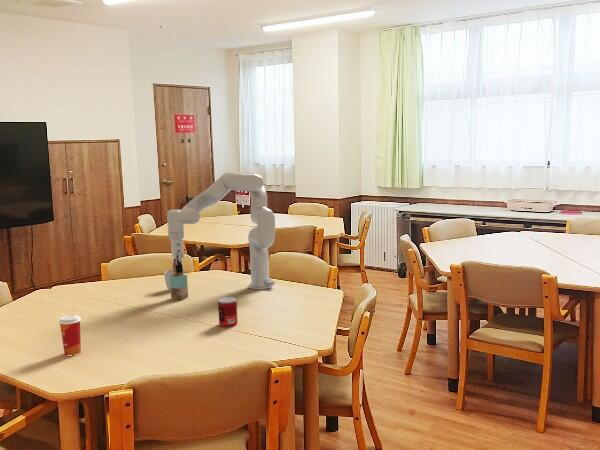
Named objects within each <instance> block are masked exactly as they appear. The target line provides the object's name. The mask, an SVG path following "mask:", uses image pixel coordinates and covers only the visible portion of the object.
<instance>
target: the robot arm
mask: <svg viewBox="0 0 600 450" xmlns="http://www.w3.org/2000/svg"><path fill="white" fill-rule="evenodd" d="M264 181H265V180H264V179H263V177H262V176H261V175H260V174H257V173H250V172H246V173H235V172H225V173H223V174H222V175H220V177H219V178H218V179H216V180H215V181H214V182H213V183H212V184H211V185H209V187H208V188H206V189H205V190H204V191H202V192H200V193H199V194H198V195H196V196H195V197H194V198H192V199H191V200H190V201H189V202H188V203H187V204H185V205H184V206H183V207H182V208H181V209H170V210H167V212H166V216H167V217H166V219H167V235H168V239H169V240H170V249H171V251H170V252H171V257H172V258H173V260H172V261H173V262H172V264H173V263H174V262H176V273H182V272H183V273H184V266H183V267H182V262H183V259H185V247H184V246H185V245H184V240H183V239H184V238H185V230H184V229H185V228H184V227H185V226H184V225H195V224H197V223H198V222H200V219H201V214H200V213H201V211H203V210H205V209H206V208H208V207H210V206H214V205H216V204H218V203H219V202H220V201H221V200H222V199H224V197H225V196H226V195H228V194H229V193H230V192H231V191H235V192H248V194H249V196H250V221H251V223H253V224H255V225H257V226H255V227H253V228H251V230H249V232H248V236H247V237H248V238H247V239H248V246H249V256H250V257H249V258H250V260H249V261H250V279H251V280H250V283H249V284H248V285H247V286H248V288H249V289H252V290H267V289H271V288H273V286H275V284H276V281H274V280H272V278H271V277H270V263H269V262H270V259H269V258H270V257H269V255H270V254H269V248H271V247H272V246H273V244H274V243H275V236H276V217H275V214H274V212H273V210H271V209H270V208H268V193H267V190H266V188H265V185H264Z"/></svg>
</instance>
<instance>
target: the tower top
mask: <svg viewBox="0 0 600 450" xmlns="http://www.w3.org/2000/svg"><path fill="white" fill-rule="evenodd" d="M183 274H184V275H182V276H173V275H170V287H172V288H175V289H180V288H184V287H188V274H186V273H183ZM188 288H189V287H188Z"/></svg>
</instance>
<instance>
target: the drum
mask: <svg viewBox="0 0 600 450" xmlns="http://www.w3.org/2000/svg"><path fill="white" fill-rule="evenodd" d="M173 262H174V261H173ZM173 262H172V270H173V276H182V275H184V274H185V273H184V271H183V272H182V273H176V262H174V263H173ZM182 267H183V268H184V263H183V261H182Z"/></svg>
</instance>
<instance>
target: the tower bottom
mask: <svg viewBox="0 0 600 450" xmlns="http://www.w3.org/2000/svg"><path fill="white" fill-rule="evenodd" d="M188 289H189V287H184V288H180V289H175V288H171V291H170V299H171V301H180V302H181V301H184V300H186V299H188V298H189V290H188Z"/></svg>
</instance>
